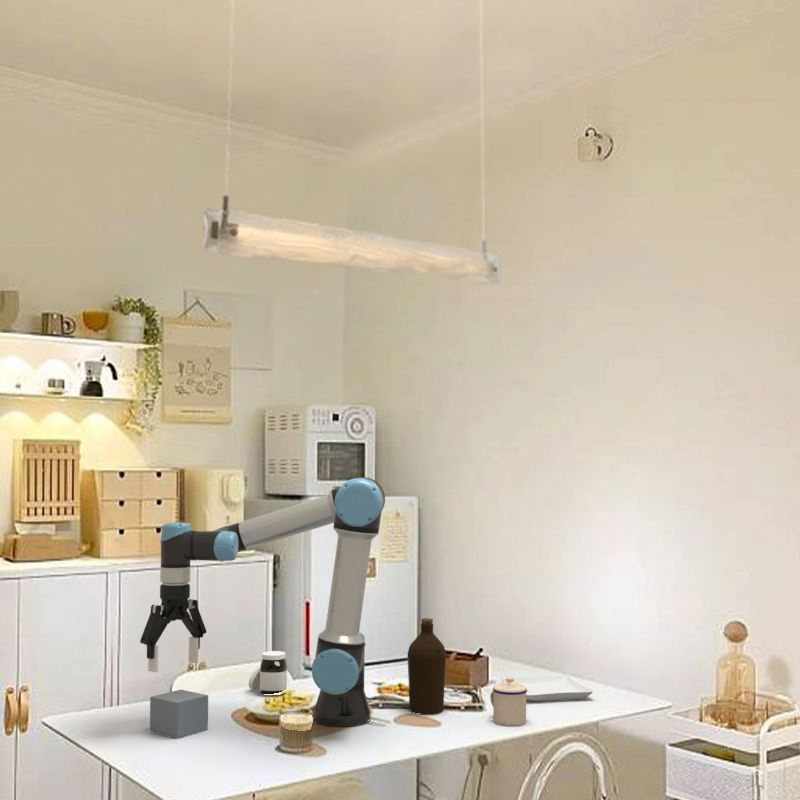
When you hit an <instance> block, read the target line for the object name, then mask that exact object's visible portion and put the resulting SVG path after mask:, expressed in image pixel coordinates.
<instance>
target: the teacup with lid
mask: <svg viewBox="0 0 800 800" xmlns="http://www.w3.org/2000/svg"><path fill="white" fill-rule="evenodd" d="M505 679H506V681H502V682H500V683H498V684H495V685H494V686H493V688H492V691H491V692H490V698H489V699H490V704H491V706H492V707H493V708H492V709H493V716H492V717H493V722H494V723H495V724H497V725H500V726H506V727H516V726H522V725H525V724H526V722H527V700H526V692H527V688H526V687H525V686H523V685H520V684H519V683H517V682H515V681H514V677H513V676H512V677H511V676H508V677H506V678H505Z"/></svg>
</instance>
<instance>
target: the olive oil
mask: <svg viewBox="0 0 800 800" xmlns="http://www.w3.org/2000/svg"><path fill="white" fill-rule="evenodd" d="M420 619H421V624H420V633H419V634H418V636H417V637H415V639H414V640H413V641H412V642H411V643H410V645H409V647H408V650H407V675H408V676H407V677H408V701H409V702H408V704H409V705H408V709H410V710H411V711H412V712H411V711H410V710H409V711H410V712H411V713H413V712H415V713H414V714H416V713H420V714H419V715H426V714H429V715H437V714H440V713H442V711H443V712H444V704H445V702H444V701H445V681H446V680H445V679H446V664H447V663H446V662H447V652H446V648H445V646H444V644H443V643H442V641H440V639H439V638H438V637H437V636H436V635H435V634H434V624H433V623H434V619H433V618H429V617H428V618H420Z"/></svg>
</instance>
